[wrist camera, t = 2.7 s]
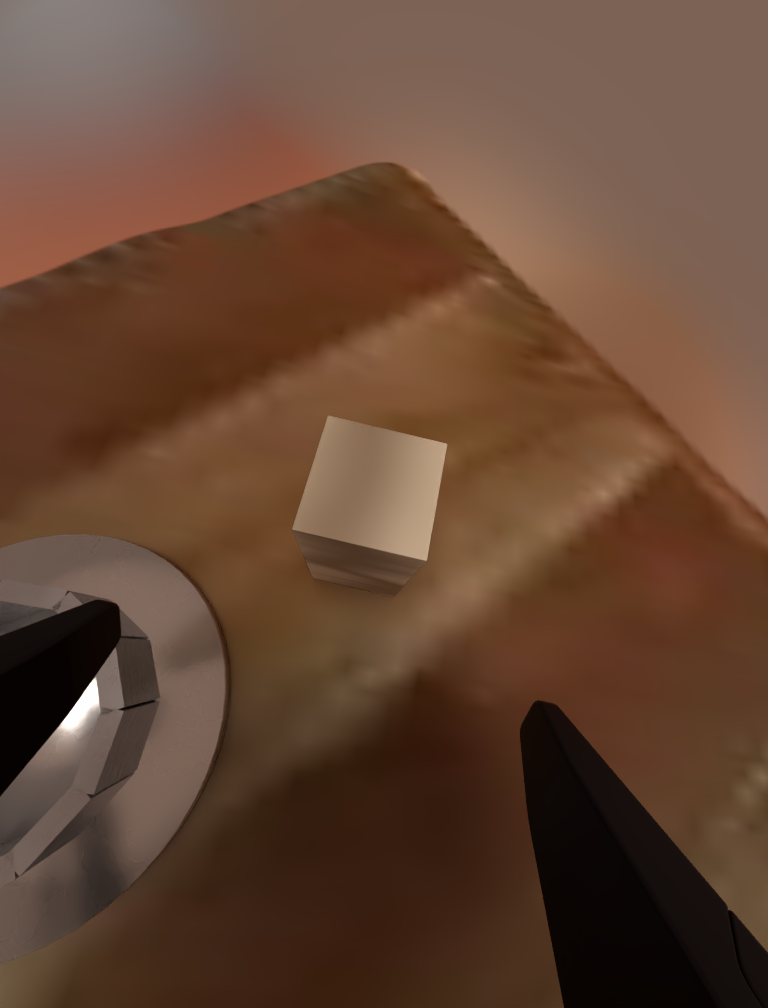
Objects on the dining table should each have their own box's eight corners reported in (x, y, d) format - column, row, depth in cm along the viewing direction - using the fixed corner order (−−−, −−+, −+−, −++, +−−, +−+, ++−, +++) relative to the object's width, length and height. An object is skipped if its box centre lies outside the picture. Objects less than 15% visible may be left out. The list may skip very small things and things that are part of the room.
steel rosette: (301, 681, 19) (290, 688, 15) (-20, 1074, 13) (-160, 1237, 10) (86, 481, 21) (32, 446, 17) (-257, 747, 16) (-441, 776, 12)
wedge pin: (408, 521, 22) (447, 443, 14) (393, 597, 21) (426, 561, 12) (334, 504, 22) (328, 415, 14) (313, 578, 21) (292, 529, 12)
